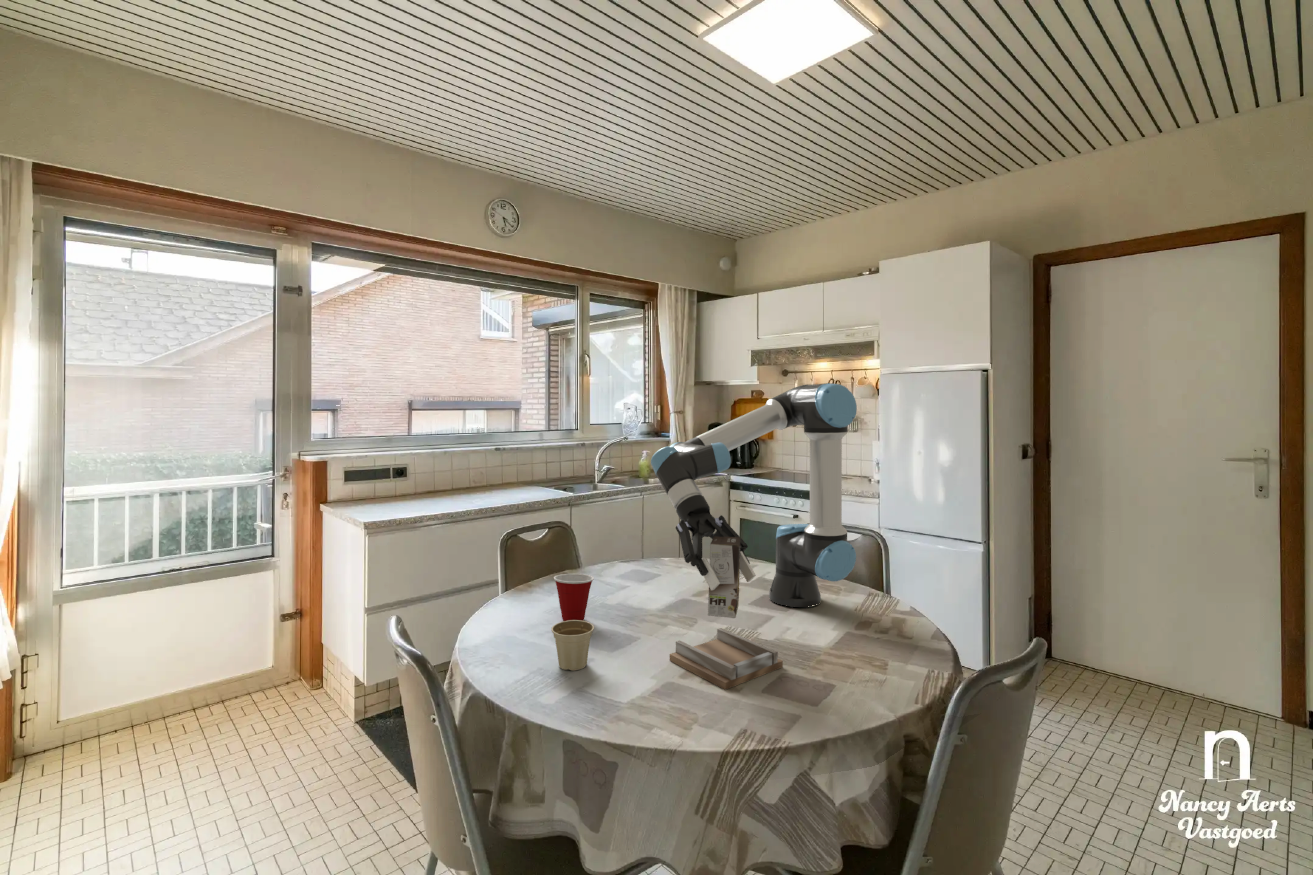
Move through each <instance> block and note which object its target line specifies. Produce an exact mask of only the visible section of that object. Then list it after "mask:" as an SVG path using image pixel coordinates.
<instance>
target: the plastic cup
mask: <svg viewBox="0 0 1313 875" xmlns="http://www.w3.org/2000/svg"><path fill="white" fill-rule="evenodd" d="M594 579H595V577H594V576H592V575H589V574H585V573H564V574H558V575H554V576H553V580H554V582H555V586H556V590H557V596H558V602H559V603H558V604H559V609H560V612H561V619H562V622H563V621H569V620H581V621H585V616H586V610H587V608H588V607H587V606H588V602H589V601H588V600H589V596H590V589H591V588H592V587H591V586H592V583H593V581H594Z"/></svg>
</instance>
